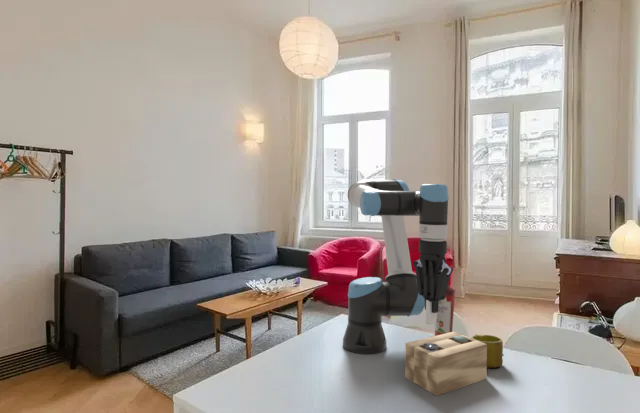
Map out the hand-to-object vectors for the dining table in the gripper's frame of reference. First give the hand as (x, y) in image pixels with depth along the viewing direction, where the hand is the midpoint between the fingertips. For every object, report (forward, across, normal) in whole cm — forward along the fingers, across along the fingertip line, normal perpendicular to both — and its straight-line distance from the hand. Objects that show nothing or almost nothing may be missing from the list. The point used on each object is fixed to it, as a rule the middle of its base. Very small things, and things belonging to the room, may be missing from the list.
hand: (431, 322), depth 109 cm
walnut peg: (+16, +1, +12) cm, 20 cm away
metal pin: (+16, +1, 0) cm, 16 cm away
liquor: (+18, -19, +27) cm, 37 cm away
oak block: (+17, +1, +6) cm, 18 cm away
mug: (+17, -1, +26) cm, 31 cm away
